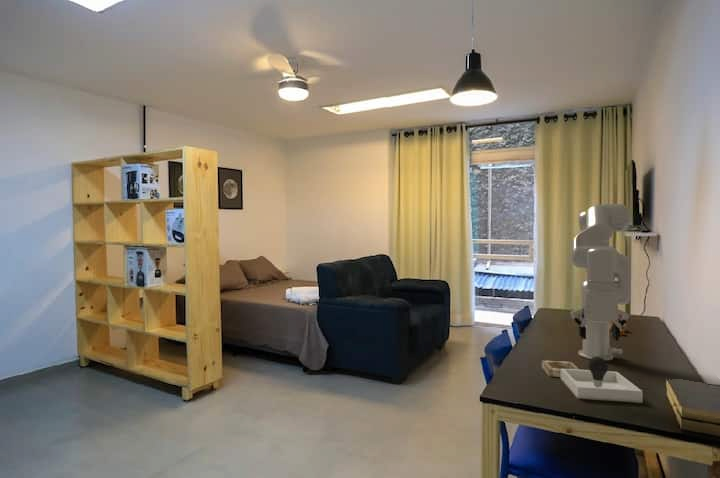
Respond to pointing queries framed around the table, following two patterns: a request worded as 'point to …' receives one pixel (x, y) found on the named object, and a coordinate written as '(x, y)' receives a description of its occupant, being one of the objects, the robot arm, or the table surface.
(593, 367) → the light bulb
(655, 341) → the table surface
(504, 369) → the table surface
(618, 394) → the tray
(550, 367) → the beige flat square frame
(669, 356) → the table surface
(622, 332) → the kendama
